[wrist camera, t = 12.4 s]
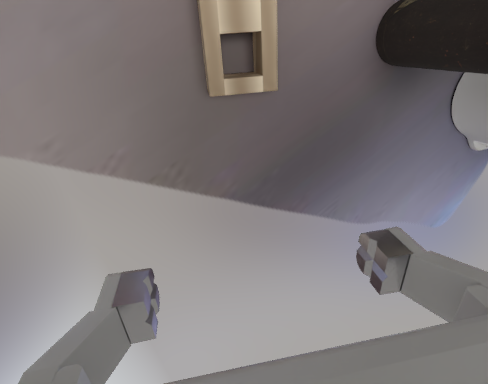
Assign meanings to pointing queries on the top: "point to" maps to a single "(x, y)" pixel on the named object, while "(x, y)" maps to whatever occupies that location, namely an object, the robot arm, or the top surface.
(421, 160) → the top surface
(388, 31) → the container
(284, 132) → the top surface
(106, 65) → the top surface
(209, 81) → the socket block
